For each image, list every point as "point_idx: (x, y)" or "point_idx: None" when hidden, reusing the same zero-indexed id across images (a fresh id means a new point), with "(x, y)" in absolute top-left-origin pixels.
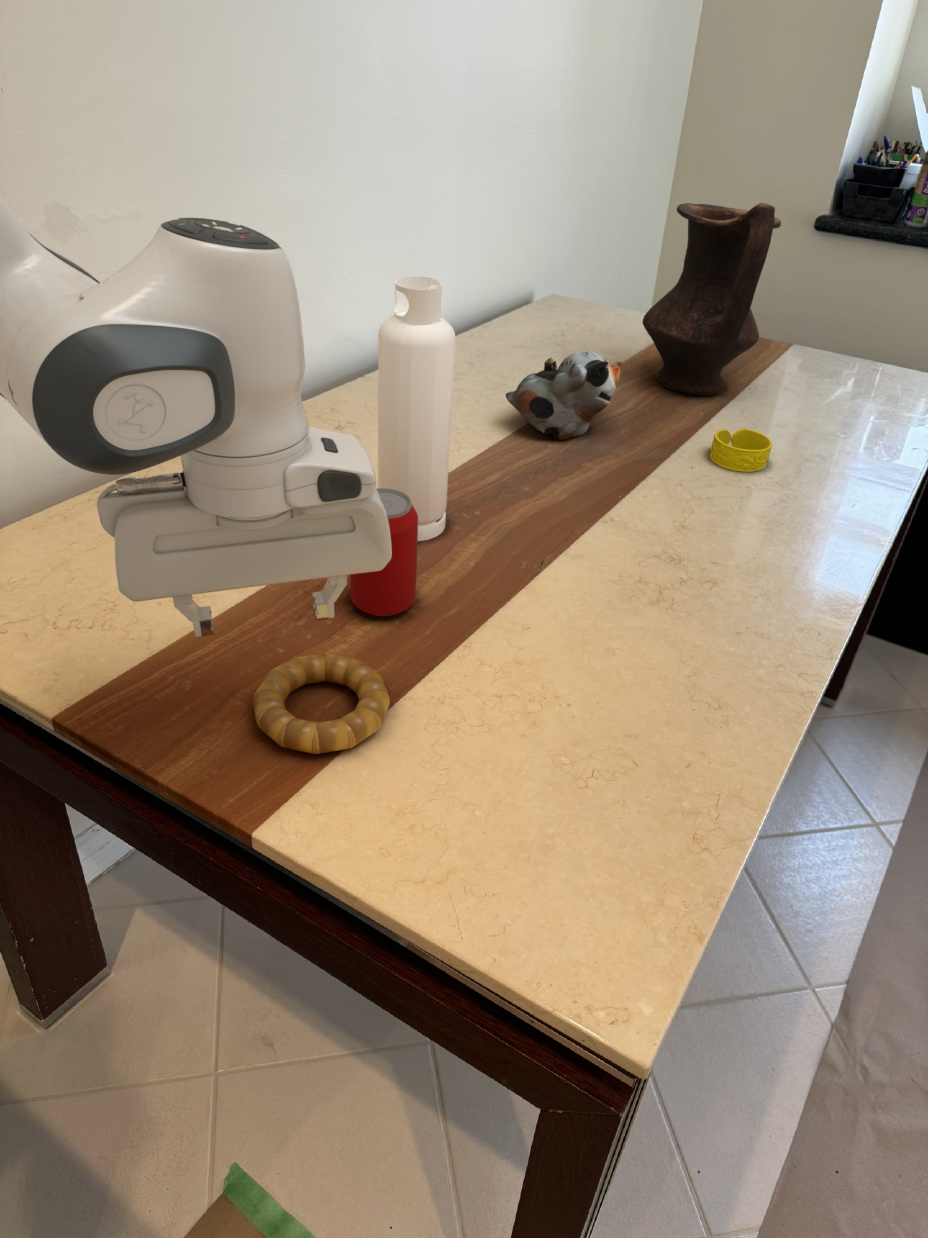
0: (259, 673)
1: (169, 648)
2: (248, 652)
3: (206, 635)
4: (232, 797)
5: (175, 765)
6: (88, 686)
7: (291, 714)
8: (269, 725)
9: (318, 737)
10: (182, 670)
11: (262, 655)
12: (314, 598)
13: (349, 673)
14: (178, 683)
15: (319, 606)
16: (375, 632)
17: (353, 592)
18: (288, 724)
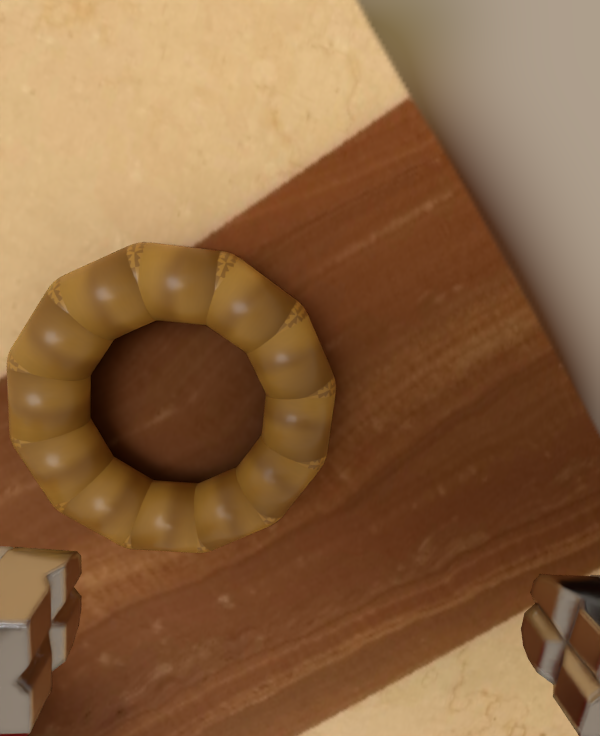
0: (284, 546)
1: (430, 655)
2: (290, 610)
3: (571, 575)
4: (425, 212)
5: (502, 342)
6: None
7: (260, 366)
8: (317, 350)
9: (217, 262)
10: (423, 592)
11: (265, 595)
12: (26, 682)
13: (87, 463)
14: (439, 560)
15: (11, 611)
16: None
17: None
18: (278, 325)
